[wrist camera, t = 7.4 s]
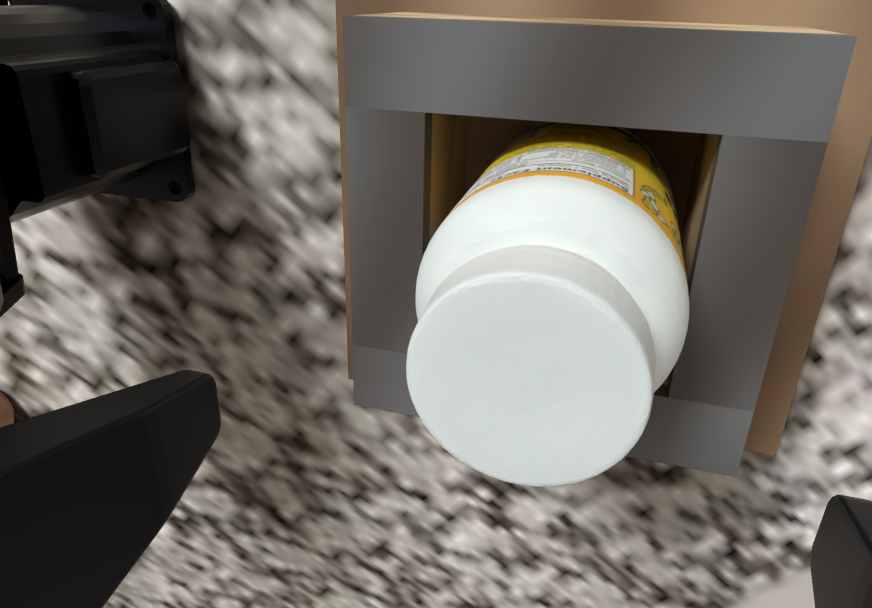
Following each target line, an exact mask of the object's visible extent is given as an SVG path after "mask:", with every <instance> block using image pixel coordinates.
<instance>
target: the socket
mask: <svg viewBox="0 0 872 608" xmlns="http://www.w3.org/2000/svg"><path fill="white" fill-rule="evenodd" d="M336 24H337V53H338V82H339V111H340V140H341V169H342V198H343V227H344V256H345V285H346V314H347V343H348V372H349V379H353V380H354V405H359V406H364V407H369V408H375V409H380V410H385V411H391V412H396V413H401V414H406V415H412V416H417V417H419V415H418V413H417V411H416V409H415V406H414V404H413V402H412V399H411V396H410V393H409V389H408V384H407V376H406V361H407V351H408V346H409V343H410V339H411V336H412V334H413V331H414V329H415V327H416V325H417V323H418V319H417V313H416V298H415V294H416V282H417V276H418V272H419V268H420V264H421V261H422V258H423V255H424V253H425V251H426V249H427V246H428V244H429V242H430V240H431V239H432V237H433V236H434V234H435V232H436V231H437V229H438V228H439V226H440V225H441V224H442V222H443V221H444V220H445V219H446V217H447V216H448V215H449V213H450V212H451V211H452V210H453V208H454V207H455V206H456V205H457V204H458V202H459V201H460V200H461V199H462V198H463V197H464V195H465V194H466V193H467V192H468V190H469V189H470V188H471V187H472V186H473V185H474V184H475V183H476V181H477V180H478V179H479V178H480V176H481V175H482V174H483V173H484V171H485V170H486V169H487V168H488V166H489V165H490V164H491V163H492V162H493V161H494V160H495V159H496V157H497V156H498V155H499V154H500V153H501V152H502V151H503V150H504V149H505V148H506V147H507V146H508V145H509V144H510V143H511V142H512V141H514V140H515V139H516V138H517V137H519V136H520V135H522V134H523V133H525V132H527V131H528V130H530V129H532V128H534V127H536V126H539V125H541V124H544V123H547V122H559V123H572V124H586V125H599V126H612V127H622V128H624V129H626V130H627V131H629V132H631V133H632V134H634V135H635V136H637V137H638V138H639V139H640V140H641V141H642V142H643V143H645V144H646V145H647V146H648V147H649V149H650V150H651V151H652V153H653V154H654V155H655V157H656V158H657V160H658V161H659V163H660V165H661V166H662V168H663V170H664V172H665V174H666V176H667V178H668V180H669V182H670V185H671V189H672V192H673V196H674V200H675V206H676V212H677V219H678V226H679V231H680V238H681V245H682V251H683V259H684V265H685V272H686V277H687V285H688V294H689V322H688V329H687V334H686V337H685V341H684V345H683V348H682V351H681V353H680V355H679V358H678V360H677V362H676V364H675V365H674V367H673V369H672V371H671V372H670V374H669V375H668V377H667V378H666V379H665V381H664V382H663V383H662V385H661V386H660V387H659V388H658V389H657V390H656V391H655V392H654V395H653V402H652V407H651V412H650V416H649V419H648V422H647V424H646V427H645V429H644V431H643V433H642V435H641V437H640V438H639V440H638V441H637V443H636V444H635V445H634V447H633V448H632V449H631V450H630V451H629V453H628V454H627V455H626V456H628V457H633V458H639V459H644V460H649V461H654V462H660V463H665V464H670V465H676V466H681V467H686V468H691V469H697V470H702V471H707V472H712V473H718V474H723V475H728V476H734V477H736V475H737V472H738V468H739V464H740V461H741V457H742V454H743V450H747V451H753V452H758V453H764V454H770V455H775V456H776V453H777V449H778V446H779V443H780V439H781V436H782V433H783V429H784V426H785V423H786V419H787V416H788V413H789V409H790V406H791V403H792V400H793V396H794V393H795V390H796V386H797V383H798V380H799V376H800V373H801V370H802V366H803V363H804V360H805V356H806V353H807V350H808V347H809V343H810V340H811V337H812V333H813V330H814V327H815V323H816V320H817V317H818V313H819V310H820V307H821V303H822V300H823V297H824V294H825V290H826V287H827V284H828V280H829V277H830V274H831V270H832V267H833V264H834V260H835V257H836V254H837V250H838V247H839V244H840V241H841V237H842V234H843V231H844V227H845V224H846V221H847V217H848V214H849V211H850V207H851V204H852V201H853V197H854V194H855V191H856V187H857V184H858V181H859V178H860V174H861V171H862V168H863V164H864V161H865V158H866V154H867V151H868V148H869V144H870V141H871V138H872V0H336Z"/></svg>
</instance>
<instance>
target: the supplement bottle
mask: <svg viewBox="0 0 872 608" xmlns="http://www.w3.org/2000/svg"><path fill="white" fill-rule="evenodd" d="M415 298H416V313H417V319H418V323H417V325H416V327H415V329H414V331H413V334H412V336H411V339H410V343H409V346H408V351H407V361H406V376H407V384H408V389H409V393H410V396H411V399H412V402H413V404H414V406H415V409H416V411H417V413H418V415H419V417H420V419H421V421H422V422H423V424H424V425H425V427H426V428H427V429H428V430H429V432H430V433H431V434H432V436H433V437H434V438H435V439H436V440H437V441H438V442H439V443H440V445H441V446H442V447H444V448H445V449H446V450H447V451H448V452H449V453H450V454H452V455H453V456H454V457H456V458H457V459H458V460H460V461H461V462H463V463H464V464H466V465H468V466H470V467H471V468H473V469H475V470H476V471H479V472H482V473H483V474H485V475H487V476H490V477H493V478H496V479H499V480H502V481H505V482H510V483H514V484H520V485H526V486H538V487H543V486H561V485H567V484H573V483H578V482H581V481H585V480H587V479H589V478H592V477H594V476H597V475H599V474H601V473H602V472H604V471H606V470H608V469H609V468H611V467H612V466H614V465H615V464H616V463H618V462H619V461H620V460H621V459H623V458H624V457H625V456H626V455H627V454H628V453H629V451H630V450H631V449H632V448H633V447H634V445H635V444H636V443H637V441H638V440H639V438H640V437H641V435H642V433H643V431H644V429H645V427H646V424H647V422H648V419H649V416H650V412H651V407H652V402H653V395H654V392H655V391H656V390H657V389H658V388H659V387H660V386H661V385H662V383H663V382H664V381H665V379H666V378H667V377H668V375H669V374H670V372H671V371H672V369H673V367H674V365H675V364H676V362H677V360H678V358H679V355H680V353H681V351H682V348H683V345H684V341H685V337H686V334H687V329H688V322H689V294H688V285H687V277H686V272H685V265H684V259H683V251H682V245H681V238H680V231H679V226H678V219H677V212H676V206H675V200H674V196H673V192H672V189H671V185H670V182H669V180H668V178H667V176H666V174H665V172H664V170H663V168H662V166H661V165H660V163H659V161H658V160H657V158H656V157H655V155H654V154H653V153H652V151H651V150H650V149H649V147H648V146H647V145H646V144H645V143H643V142H642V141H641V140H640V139H639V138H638V137H637V136H635V135H634V134H632V133H631V132H629V131H627V130H626V129H624V128H622V127H612V126H599V125H586V124H572V123H559V122H547V123H544V124H541V125H539V126H536V127H534V128H532V129H530V130H528V131H527V132H525V133H523V134H522V135H520V136H519V137H517V138H516V139H515V140H514V141H512V142H511V143H510V144H509V145H508V146H507V147H506V148H505V149H504V150H503V151H502V152H501V153H500V154H499V155H498V156H497V157H496V159H495V160H494V161H493V162H492V163H491V164H490V165H489V166H488V168H487V169H486V170H485V171H484V173H483V174H482V175H481V176H480V178H479V179H478V180H477V181H476V183H475V184H474V185H473V186H472V187H471V188H470V189H469V190H468V192H467V193H466V194H465V195H464V197H463V198H462V199H461V200H460V201H459V202H458V204H457V205H456V206H455V207H454V208H453V210H452V211H451V212H450V213H449V215H448V216H447V217H446V219H445V220H444V221H443V222H442V224H441V225H440V226H439V228H438V229H437V231H436V232H435V234H434V236H433V237H432V239H431V240H430V242H429V244H428V246H427V249H426V251H425V253H424V255H423V258H422V261H421V264H420V268H419V272H418V276H417V282H416V294H415Z"/></svg>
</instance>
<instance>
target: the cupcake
mask: <svg viewBox="0 0 872 608" xmlns="http://www.w3.org/2000/svg"><path fill="white" fill-rule="evenodd" d="M13 423H14V410H13V406H12V405H11V403H10V401H9V400H8V399H7V398H6V396H5V395H4V394H3V393H1V392H0V427H3V426H6V425H9V424H13Z"/></svg>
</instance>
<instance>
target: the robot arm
mask: <svg viewBox="0 0 872 608" xmlns="http://www.w3.org/2000/svg"><path fill="white" fill-rule="evenodd" d="M8 1H9V3H10V5H8ZM152 4H153V5H154V6H155V8H156V11H157V15H156V17H155V18H154V17H153V16H152V13H151V5H152ZM189 145H190V140H189V132H188V124H187V116H186V109H185V101H184V93H183V86H182V78H181V71H180V68H179V63H178V55H177V48H176V40H175V32H174V25H173V17H172V10H171V7H170V4H169V3H168V1H167V0H0V317H1V316H2V315H3V314H4V313H5V312H6V311H7V310H9V309H10V308H11V307H12V306H13V305H14V304H15V303H16V302H17V301H18V300H19V299H20V298H21V297H22V296H23V295H24V294H25V286H24V280H23V276H22V275H21V274H19V273H18V267H17V261H16V254H15V248H14V241H13V235H12V228H11V223H12V222H15V221H18V220H21V219H24V218H26V217H29V216H32V215H35V214H38V213H40V212H43V211H46V210H49V209H52V208H54V207H57V206H60V205H63V204H66V203H69V202H71V201H74V200H77V199H80V198H83V197H85V196H88V195H91V194H94V193H97V192H98V193H106V194H115V195H123V196H131V197H140V198H148V199H156V200H165V201H173V202H181V201H184V200H186V199H188V198H190V197H191V196H192V195H193V193H194V189H195V185H194V178H193V170H192V162H191V155H190V147H189ZM176 181H177V182H178V183H179V184H180V186H181V191H179V190H178V189H177V187H176V184H175V183H176ZM220 425H221V418H220V411H219V403H218V396H217V388H216V383H215V380H214V378H213V377H212V376H211V375H210V374H207V373H202V372H197V371H192V370H183V371H179V372H176V373H173V374H170V375H166V376H163V377H160V378H157V379H154V380H150V381H147V382H144V383H141V384H138V385H134V386H131V387H128V388H125V389H122V390H118V391H115V392H112V393H109V394H106V395H102V396H99V397H96V398H93V399H89V400H86V401H83V402H80V403H77V404H73V405H70V406H67V407H64V408H61V409H57V410H54V411H51V412H48V413H45V414H41V415H38V416H35V417H32V418H29V419H25V420H22V421H19V422H16V423H13V424H9V425H6V426H3V427H0V608H102V607H103V606H104V605H105V603H106V602H107V601H108V599H109V598H110V597H111V595H112V594H113V593H114V591H115V590H116V589H117V587H118V586H119V584H120V583H121V582H122V580H123V579H124V578H125V576H126V575H127V574H128V572H129V571H130V570H131V568H132V567H133V566H134V564H135V563H136V562H137V560H138V559H139V558H140V556H141V555H142V554H143V552H144V551H145V550H146V548H147V547H148V546H149V544H150V543H151V542H152V540H153V539H154V538H155V536H156V535H157V533H158V532H159V531H160V529H161V528H162V526H163V525H164V524H165V522H166V521H167V519H168V517H169V516H170V514H171V513H172V511H173V510H174V508H175V507H176V505H177V503H178V502H179V500H180V498H181V497H182V495H183V493H184V492H185V490H186V488H187V487H188V485H189V483H190V482H191V480H192V478H193V477H194V475H195V473H196V472H197V470H198V468H199V467H200V465H201V463H202V462H203V460H204V458H205V457H206V455H207V453H208V452H209V450H210V448H211V447H212V445H213V443H214V442H215V440H216V438H217V436H218V434H219V431H220ZM810 565H811V575H812V583H813V592H814V601H815V608H872V501H870V500H865V499H860V498H855V497H849V496H844V495H836V496H833V497H832V498H831V499H830V501H829V502H828V504H827V507H826V509H825V512H824V515H823V518H822V521H821V523H820V526H819V529H818V532H817V535H816V537H815V540H814V543H813V546H812V551H811V564H810Z"/></svg>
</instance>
